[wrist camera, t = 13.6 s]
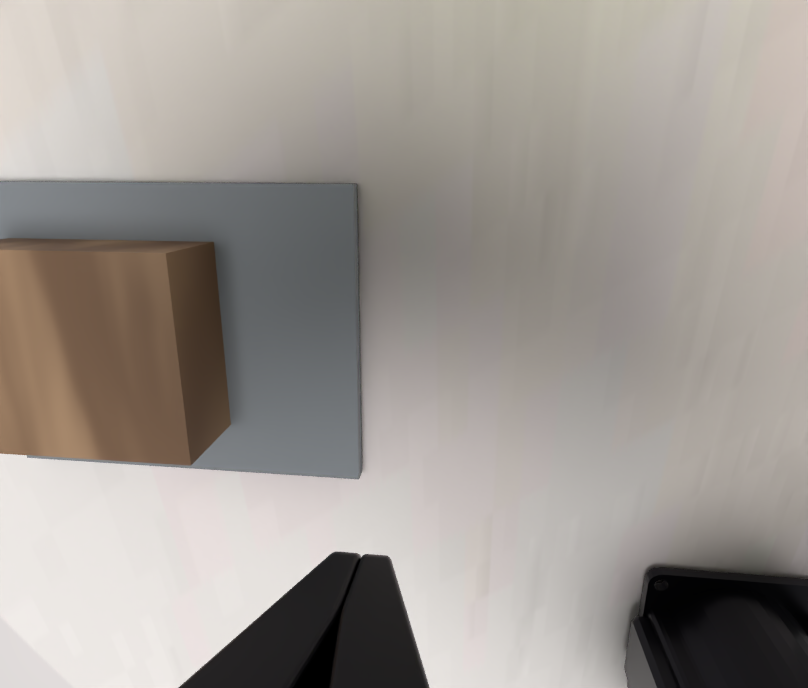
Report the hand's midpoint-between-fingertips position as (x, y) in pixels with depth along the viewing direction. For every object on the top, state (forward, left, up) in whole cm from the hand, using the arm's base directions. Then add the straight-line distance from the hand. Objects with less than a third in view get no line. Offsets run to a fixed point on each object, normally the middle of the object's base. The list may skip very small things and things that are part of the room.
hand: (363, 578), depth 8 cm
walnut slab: (+7, 0, -10) cm, 13 cm away
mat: (+9, 0, -12) cm, 16 cm away
